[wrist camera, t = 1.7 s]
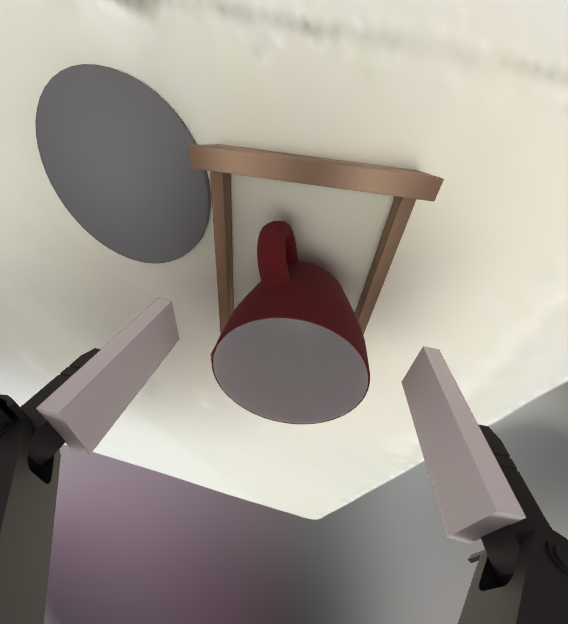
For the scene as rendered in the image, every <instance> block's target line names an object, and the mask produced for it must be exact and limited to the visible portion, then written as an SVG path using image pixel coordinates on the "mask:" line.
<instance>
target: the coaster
mask: <svg viewBox="0 0 568 624" xmlns="http://www.w3.org/2000/svg"><path fill="white" fill-rule="evenodd" d="M36 137H37V143H38V149H39V152H40V156H41V160H42V163H43V166H44V168H45V171H46V174H47V176H48V178H49V180H50V182H51V184H52V186H53V188H54V190H55V191H56V193H57V195H58V197H59V198H60V200H61V201H62V203H63V204H64V206H65V207H66V208H67V210H68V211H69V212H70V213H71V215H72V216H73V217H74V218H75V219H76V221H77V222H78V223H79V224H80V225H81V226H82V227H83V228H84V229H85V230H86V231H87V232H88V233H89V234H90V235H92V236H93V237H94V238H95V239H97V240H98V241H99V242H101V243H102V244H103V245H105V246H106V247H108V248H109V249H111V250H113V251H115V252H117V253H118V254H121V255H123V256H125V257H127V258H130V259H133V260H137V261H141V262H146V263H164V262H170V261H173V260H176V259H178V258H180V257H182V256H183V255H185V254H186V253H187V252H189V251H190V250H191V249H192V248H194V246H195V245H196V244H197V243H198V242H199V241H200V239H201V237H202V236H203V234H204V232H205V229H206V227H207V224H208V220H209V215H210V207H211V194H210V186H209V180H208V176H207V171H206V170H202V169H195V168H191V162H190V152H189V145H196V143H195V141H194V139H193V137H192V135H191V134H190V132H189V130H188V129H187V127H186V126H185V124H184V123H183V121H182V120H181V119H180V117H179V116H178V115H177V113H176V112H175V111H174V110H173V109H172V108H171V107H170V105H169V104H168V103H167V102H166V101H165V100H164V99H163V98H161V97H160V96H159V95H158V94H157V93H156V92H155V91H154V90H152V89H151V88H149V87H148V86H147V85H145V84H144V83H143V82H141V81H139V80H137V79H135V78H134V77H132V76H130V75H128V74H125V73H123V72H120V71H117V70H115V69H112V68H109V67H104V66H99V65H90V64H82V65H76V66H71V67H69V68H67V69H64V70H62V71H60V72H59V73H58V74H56V75H55V76H54V77H53V78H52V79H51V80H50V81H49V82H48V84H47V85H46V86H45V88H44V90H43V92H42V94H41V96H40V99H39V103H38V107H37V113H36Z"/></svg>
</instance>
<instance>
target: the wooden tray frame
mask: <svg viewBox="0 0 568 624" xmlns="http://www.w3.org/2000/svg"><path fill="white" fill-rule="evenodd" d="M189 152H190V162H191V168H195V169H202V170H209V171H210V178H211V193H212V208H213V223H214V238H215V254H216V269H217V284H218V299H219V314H220V329H221V333H222V331H223V329H224V327H225V326H226V324H227V322H228V320H229V318H230V316H231V315H232V313H233V312H234V306H233V262H232V219H231V176H230V173H231V174H238V175H246V176H253V177H260V178H267V179H275V180H282V181H289V182H296V183H304V184H311V185H318V186H325V187H333V188H340V189H347V190H354V191H361V192H369V193H376V194H383V195H390V196H396V197H395V200H394V202H393V205H392V208H391V211H390V214H389V217H388V220H387V223H386V226H385V229H384V232H383V235H382V237H381V240H380V243H379V246H378V249H377V252H376V255H375V258H374V261H373V264H372V267H371V270H370V272H369V275H368V278H367V281H366V284H365V287H364V290H363V293H362V296H361V299H360V302H359V305H358V307H357V310H356V313H355V315H356V317H357V320H358V322H359V324H360V327H361V330H362V333H363V334H364V332H365V329H366V327H367V324H368V322H369V319H370V316H371V314H372V311H373V309H374V306H375V304H376V301H377V299H378V296H379V293H380V291H381V288H382V286H383V283H384V281H385V278H386V276H387V273H388V270H389V268H390V265H391V263H392V260H393V258H394V255H395V253H396V250H397V247H398V245H399V242H400V240H401V237H402V235H403V232H404V230H405V227H406V224H407V222H408V219H409V217H410V214H411V212H412V209H413V207H414V204H415V201H416V199H419V200H427V201H435V199H436V196H437V194H438V192H439V189H440V187H441V185H442V182H443V180H444V179H442V178H439V177H436V176H433V175H430V174H427V173H424V172H421V171H417V170H409V169H401V168H394V167H386V166H379V165H371V164H363V163H356V162H348V161H340V160H333V159H325V158H318V157H310V156H302V155H295V154H287V153H280V152H272V151H264V150H257V149H249V148H242V147H234V146H226V145H219V144H212V145H189ZM214 348H215V347H214ZM213 351H214V349H213ZM213 351H212V353H211V362H212V355H213Z"/></svg>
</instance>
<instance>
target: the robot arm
mask: <svg viewBox="0 0 568 624" xmlns="http://www.w3.org/2000/svg"><path fill="white" fill-rule="evenodd" d="M178 340H179V335H178V330H177V325H176V320H175V315H174V310H173V305H172V301H170V300H165V299H159V298H158V299H157V300H156V301H155V302H153V303H152V304H151V305H150V306H149V307H148V308H147V309H146V310H145V311H143V312H142V313H141V314H140V315H139V316H138V317H137V318H136V319H135V320H133V321H132V322H131V323H130V324H129V325H128V326H127V327H126V328H125V329H123V330H122V331H121V332H120V333H119V334H118V335H117V336H116V337H115V338H113V339H112V340H111V341H110V342H109V343H108V344H107V345H106V346H105V347H103V348H102V349H96V348H95V349H93V350H91V351H89V352H87V353H85V354H83V355H81V356H80V357H79V358H78V359H76V360H75V361H74V362H73V363H72V364H71V365H70V367H67V368H66V369H65V370H64V371H62V372H61V374H60V375H58V376H57V377H55V378H54V379H53V380H52V381H51V382H49V383H48V384H47V385H46V386H45V387H44V388H42V389H41V390H40V391H39V392H38V393H37V394H35V395H34V396H33V397H32V398H31V399H29V400H28V401H27V402H26V403H25V404H24V405H22V406H21V407H19V406H18V404H17V403H16V402H15V401H14V400H13V399H12V398H11V397H9V396H8V395H0V624H43V623H44V614H45V613H44V612H45V604H46V594H47V584H48V575H49V574H48V573H49V564H50V555H51V545H52V535H53V525H54V516H55V506H56V495H57V486H58V477H59V466H60V457H61V455H60V450H59V449H60V448H61V446H62V445H63V444H64V443H66V444H67V445H68V446H69V447H70V448H71V449H72V450H75V451H79V452H83V453H88V454H91V453H92V451H93V450H94V449H95V448H96V446H97V445H98V444H99V442H100V441H101V440H102V438H103V437H104V436H105V435H106V433H107V432H108V431H109V429H110V428H111V427H112V426H113V424H114V423H115V422H116V420H117V419H118V418H119V417H120V415H121V414H122V413H123V411H124V410H125V409H126V407H127V406H128V405H129V404H130V402H131V401H132V400H133V398H134V397H135V396H136V395H137V393H138V392H139V391H140V389H141V388H142V387H143V385H144V384H145V383H146V382H147V380H148V379H149V378H150V376H151V375H152V374H153V373H154V371H155V370H156V369H157V367H158V366H159V365H160V363H161V362H162V361H163V360H164V358H165V357H166V356H167V354H168V353H169V352H170V351H171V349H172V348H173V347H174V345H175V344H176V343H177V342H178ZM402 385H403V388H404V392H405V395H406V398H407V402H408V405H409V409H410V412H411V415H412V419H413V422H414V426H415V429H416V433H417V436H418V439H419V443H420V446H421V450H422V453H423V457H424V460H425V463H426V467H427V470H428V474H429V477H430V480H431V484H432V487H433V491H434V494H435V498H436V501H437V504H438V508H439V511H440V514H441V518H442V521H443V525H444V528H445V532H446V535H447V537H448V538H451V539H455V540H460V541H465V542H468V543H471V542H474V541H476V540H478V539H480V538H481V539H482V542H483V545H484V547H485V550H482V551H480V552H478V553H475V554H472V555H471V556H470V557H469V559H468V560H469V561H470V562H471V563H473V562H476V561H478V560H479V561H478V564H477V567H476V570H475V573H474V576H473V579H472V582H471V585H470V588H469V591H468V594H467V597H466V600H465V604H464V607H463V610H462V613H461V616H460V619H459V622H458V624H568V540H567V539H566V538H565V537H563V536H562V535H560V534H558V533H557V532H555V531H554V530H552V528H551V527H550V525H549V524H548V522H547V520H546V519H545V517H544V515H543V514H542V512H541V510H540V508H539V506H538V505H537V503H536V501H535V499H534V498H533V496H532V494H531V492H530V491H529V489H528V487H527V485H526V484H525V482H524V480H523V478H522V476H521V475H520V473H519V472H517V468H516V466H515V464H514V462H513V461H512V459H510V457H509V456H510V455H509V454H508V452H507V450H506V449H505V447H504V445H503V443H502V441H501V440H500V439H499V438H498V437H497V436H496V434H495V433H494V432H493V431H492V430H491V429H490V428H489V427H488V426H483V425H478V424H477V422H476V420H475V418H474V416H473V414H472V412H471V410H470V408H469V406H468V404H467V402H466V400H465V399H464V397H463V395H462V393H461V391H460V389H459V387H458V385H457V383H456V381H455V379H454V377H453V375H452V373H451V372H450V370H449V368H448V366H447V364H446V362H445V360H444V358H443V356H442V354H441V352H440V350H439V349H434V348H429V347H423V348H422V349H421V351H420V353H419V354H418V356H417V357H416V359H415V361H414V362H413V364H412V366H411V367H410V369H409V371H408V372H407V374H406V376H405V377H404V379H403V381H402Z"/></svg>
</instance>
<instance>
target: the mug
mask: <svg viewBox="0 0 568 624" xmlns="http://www.w3.org/2000/svg"><path fill="white" fill-rule="evenodd" d="M257 257H258V266H259V272H260V276H261V280H262V281H261V282H260V283H259V284H258V285H257V286H256V287H255V288H254V289H253V290H252V291H251V292H250V293H249V294H248V295H247V296H246V297H245V298H244V299H243V301H242V302H241V303H240V304H239V305H238V306H237V308H236V309H235V310H234V312H233V313H232V315H231V316H230V318H229V320H228V322H227V324H226V326H225V327H224V329H223V331H222V333H221V335H220V337H219V339H218V341H217V343H216V345H215V348H214V351H213V355H212V369H213V373H214V376H215V378H216V380H217V382H218V384H219V386H220V387H221V389H222V390H223V391H224V392H225V393H226V394H227V395H228V397H230V398H231V399H232V400H233V401H234V402H235V403H237V404H238V405H240V406H241V407H243V408H244V409H246V410H248V411H250V412H252V413H254V414H256V415H258V416H261V417H263V418H266V419H270V420H273V421H277V422H283V423H290V424H316V423H322V422H327V421H330V420H334V419H336V418H339V417H341V416H343V415H345V414H347V413H349V412H350V411H351V410H353V409H354V408H355V407H356V406H358V405H359V404H360V402H361V401H362V400H363V398H364V397H365V395H366V393H367V391H368V388H369V383H370V371H369V364H368V357H367V351H366V346H365V340H364V337H363V333H362V330H361V327H360V324H359V322H358V320H357V317H356V315H355V313H354V311H353V309H352V307H351V305H350V303H349V301H348V299H347V297H346V295H345V293H344V291H343V289H342V287H341V286H340V284H339V282H338V281H337V280H336V279H335V278H334V277H333V275H332V274H330V273H329V272H328V271H326V270H325V269H323V268H322V267H320V266H317V265H315V264H311V263H307V262H302V261H298V256H297V250H296V243H295V238H294V234H293V231H292V229H291V227H290V225H289V224H287V223H286V222H284V221H273V222H270V223H268V224H266V225H265V226H264V227H263V228H262V230H261V232H260V234H259V238H258V246H257Z"/></svg>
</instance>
